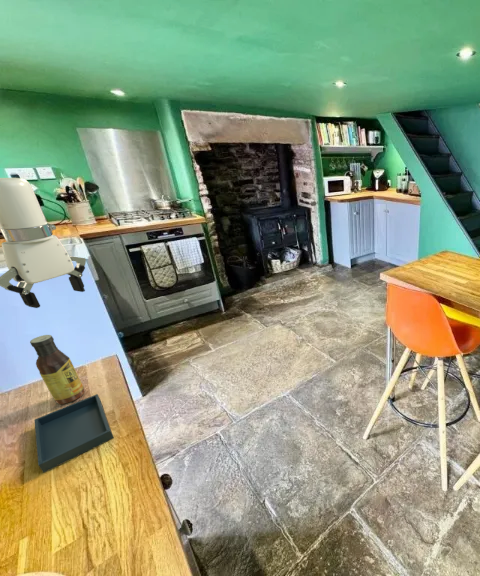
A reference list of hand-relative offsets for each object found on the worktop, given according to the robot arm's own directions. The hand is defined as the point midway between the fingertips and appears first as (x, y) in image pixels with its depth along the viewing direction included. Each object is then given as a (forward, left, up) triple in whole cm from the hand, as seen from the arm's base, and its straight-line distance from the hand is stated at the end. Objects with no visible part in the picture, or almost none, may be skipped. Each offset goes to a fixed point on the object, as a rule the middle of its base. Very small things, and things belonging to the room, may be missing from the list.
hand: (58, 298), depth 78 cm
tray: (+3, -17, -30) cm, 35 cm away
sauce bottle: (-6, -2, -30) cm, 31 cm away
